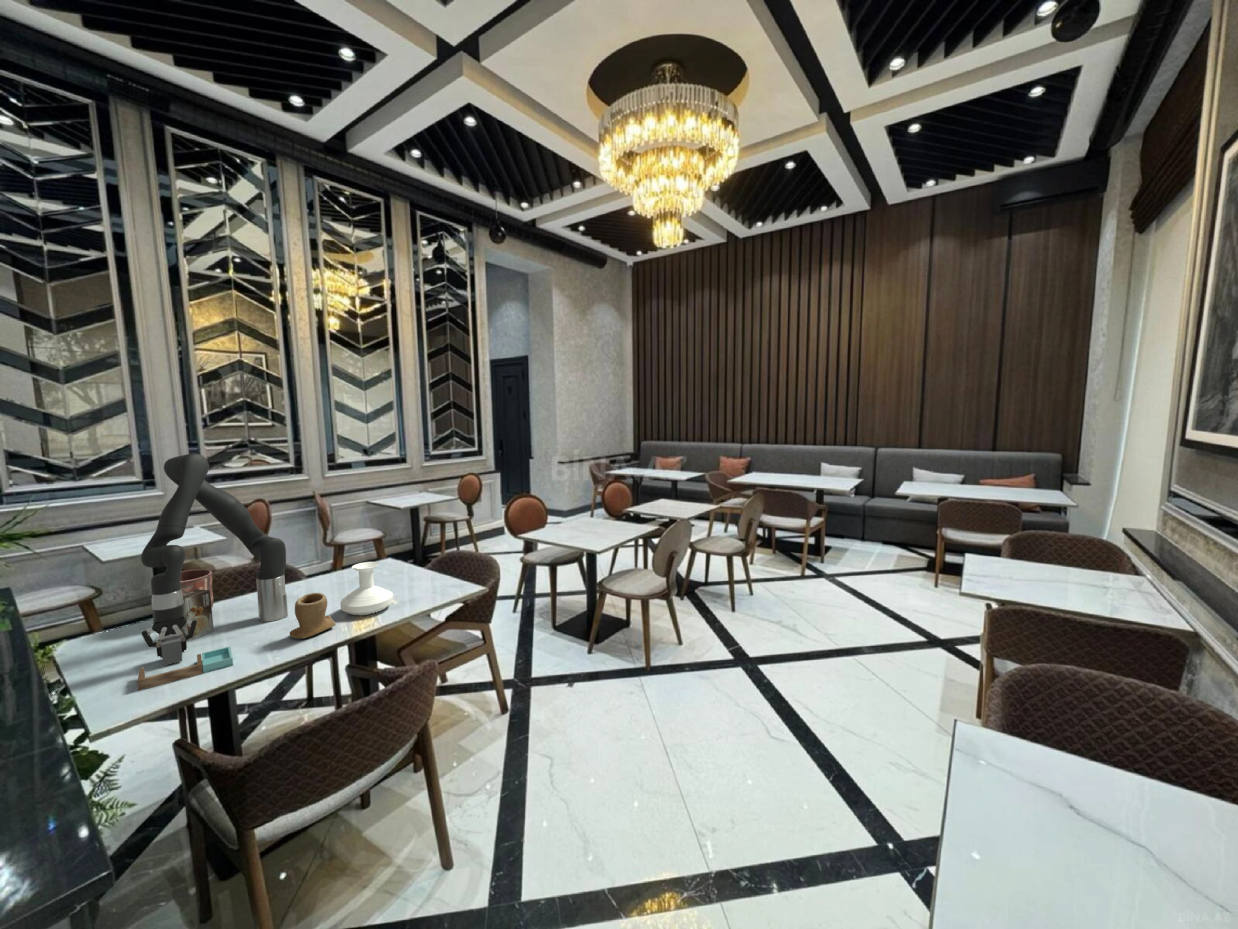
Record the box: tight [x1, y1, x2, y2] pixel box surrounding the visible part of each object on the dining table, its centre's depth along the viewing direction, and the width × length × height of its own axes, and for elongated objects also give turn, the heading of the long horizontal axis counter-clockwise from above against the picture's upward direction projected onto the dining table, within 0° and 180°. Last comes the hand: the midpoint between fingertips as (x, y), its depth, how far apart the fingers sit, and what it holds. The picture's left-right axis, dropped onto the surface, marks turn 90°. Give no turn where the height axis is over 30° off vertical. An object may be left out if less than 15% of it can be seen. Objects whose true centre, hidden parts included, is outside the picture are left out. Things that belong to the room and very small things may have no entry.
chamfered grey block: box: [161, 634, 183, 666], centre depth 160 cm, size 5×8×7 cm, turn 42°
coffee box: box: [182, 590, 215, 642], centre depth 179 cm, size 9×6×16 cm
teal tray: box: [201, 646, 234, 674], centre depth 158 cm, size 7×11×2 cm
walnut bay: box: [137, 653, 203, 691], centre depth 150 cm, size 14×10×3 cm
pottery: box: [180, 568, 214, 608], centre depth 194 cm, size 18×18×18 cm
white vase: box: [339, 561, 394, 616], centre depth 203 cm, size 20×20×19 cm
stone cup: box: [289, 592, 337, 640], centre depth 181 cm, size 15×12×15 cm
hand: (172, 654), depth 160 cm, fingers closed on chamfered grey block, 4 cm apart
